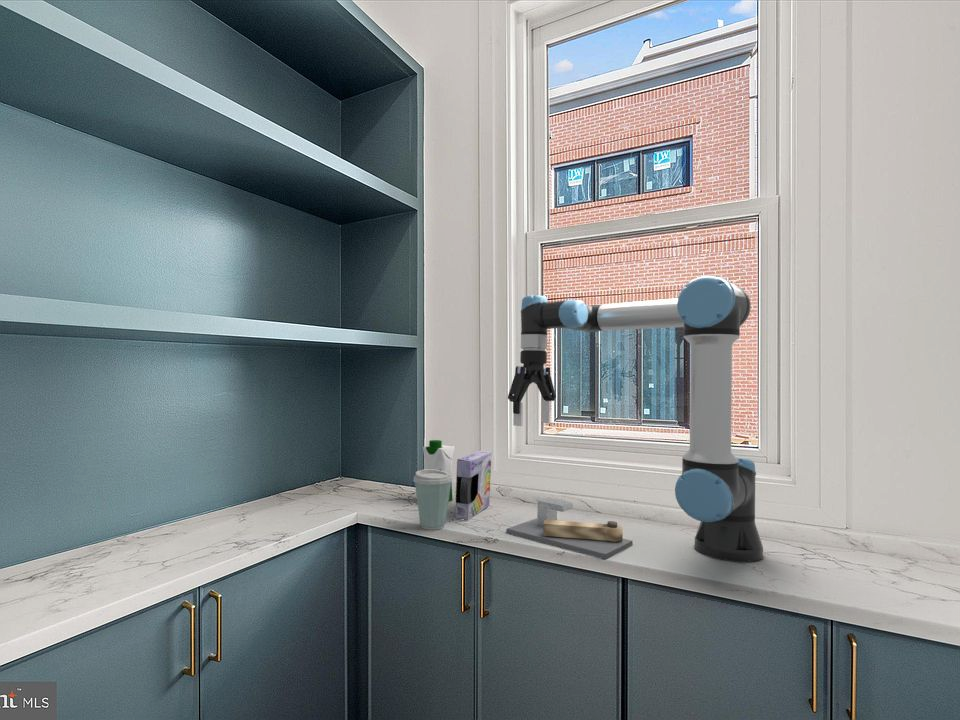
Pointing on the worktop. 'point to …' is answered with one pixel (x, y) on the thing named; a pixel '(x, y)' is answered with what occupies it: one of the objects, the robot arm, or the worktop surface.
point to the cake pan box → (472, 484)
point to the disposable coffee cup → (432, 497)
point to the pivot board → (570, 541)
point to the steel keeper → (551, 509)
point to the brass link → (584, 530)
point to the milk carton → (439, 458)
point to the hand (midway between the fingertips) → (532, 424)
